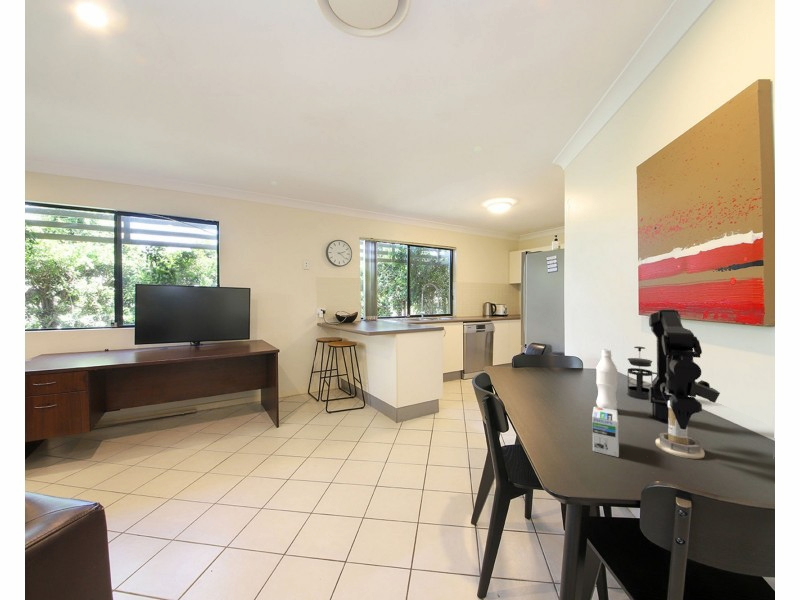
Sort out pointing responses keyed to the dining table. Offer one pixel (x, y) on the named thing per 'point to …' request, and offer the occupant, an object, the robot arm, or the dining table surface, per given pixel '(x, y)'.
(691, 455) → the collar socket
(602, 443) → the light bulb box
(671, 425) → the sprinkles bottle
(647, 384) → the french press
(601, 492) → the dining table surface
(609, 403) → the water bottle
